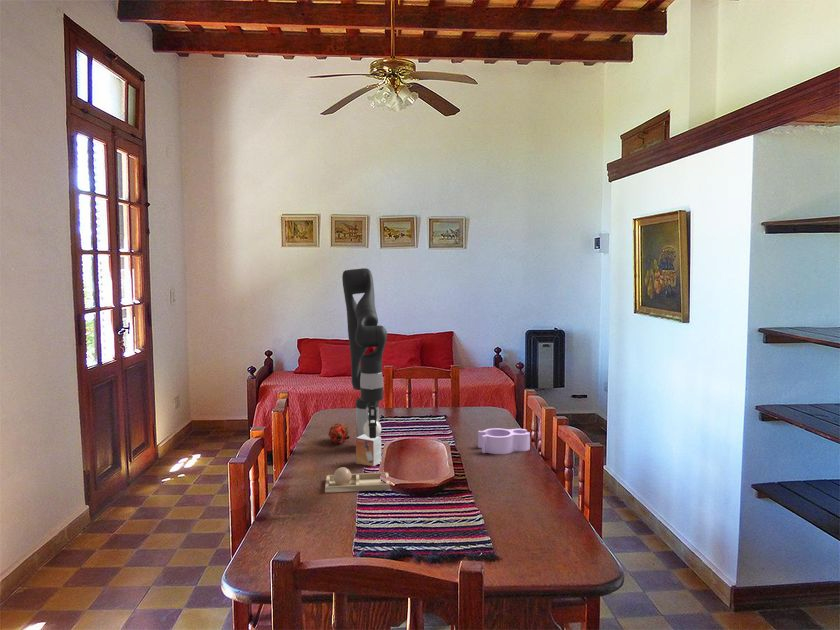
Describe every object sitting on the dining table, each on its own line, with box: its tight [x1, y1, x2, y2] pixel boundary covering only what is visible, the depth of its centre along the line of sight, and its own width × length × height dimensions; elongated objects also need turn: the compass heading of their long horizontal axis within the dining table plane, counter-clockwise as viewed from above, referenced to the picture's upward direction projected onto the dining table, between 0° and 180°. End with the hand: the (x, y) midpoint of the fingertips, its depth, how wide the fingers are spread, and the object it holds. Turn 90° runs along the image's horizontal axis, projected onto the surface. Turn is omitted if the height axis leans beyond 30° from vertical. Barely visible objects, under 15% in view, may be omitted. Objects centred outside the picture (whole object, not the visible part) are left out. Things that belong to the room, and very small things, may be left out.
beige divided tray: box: [324, 471, 391, 494], centre depth 190 cm, size 11×21×2 cm, turn 96°
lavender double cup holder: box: [477, 427, 531, 455], centre depth 227 cm, size 20×12×7 cm, turn 98°
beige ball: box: [333, 466, 352, 486], centre depth 189 cm, size 6×6×6 cm
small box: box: [355, 434, 382, 467], centre depth 211 cm, size 8×6×10 cm
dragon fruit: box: [328, 422, 351, 445], centre depth 237 cm, size 8×8×12 cm
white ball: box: [363, 420, 382, 437], centre depth 189 cm, size 6×6×6 cm
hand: (372, 434), depth 189 cm, fingers closed on white ball, 6 cm apart
